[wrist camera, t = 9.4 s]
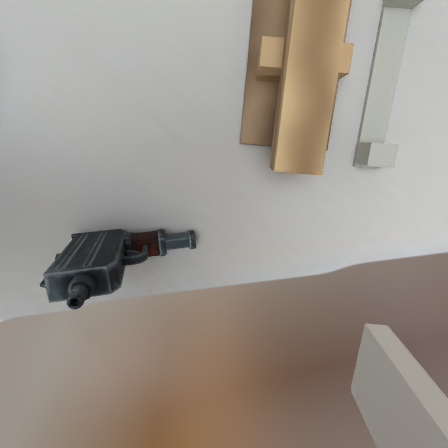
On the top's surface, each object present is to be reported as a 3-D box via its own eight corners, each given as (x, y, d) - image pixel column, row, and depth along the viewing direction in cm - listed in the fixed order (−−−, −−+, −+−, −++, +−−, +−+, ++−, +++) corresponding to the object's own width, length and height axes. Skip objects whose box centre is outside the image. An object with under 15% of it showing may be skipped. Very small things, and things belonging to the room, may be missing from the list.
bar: (269, 167, 30) (274, 171, 26) (299, -85, 25) (310, -126, 21) (310, 171, 30) (321, 175, 26) (349, -81, 25) (369, -122, 21)
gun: (215, 296, 27) (23, 326, 24) (191, 240, 43) (74, 254, 40) (213, 268, 26) (15, 294, 23) (189, 221, 42) (70, 234, 39)
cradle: (353, 165, 37) (366, 168, 33) (387, -21, 32) (408, -43, 28) (376, 167, 37) (393, 170, 33) (414, -19, 32) (439, -41, 28)
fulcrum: (240, 143, 37) (240, 143, 30) (254, -14, 33) (259, -58, 26) (324, 150, 37) (346, 152, 29) (349, -7, 33) (382, -49, 25)
